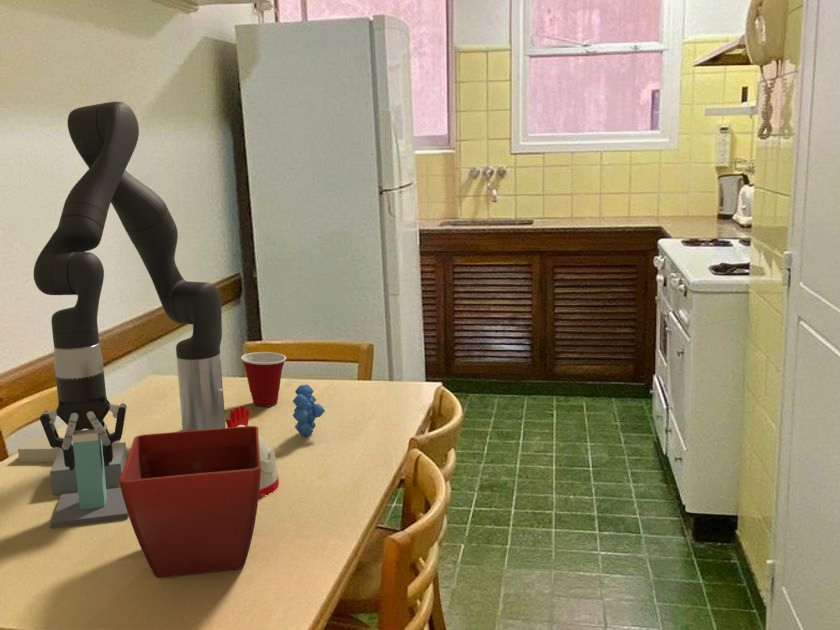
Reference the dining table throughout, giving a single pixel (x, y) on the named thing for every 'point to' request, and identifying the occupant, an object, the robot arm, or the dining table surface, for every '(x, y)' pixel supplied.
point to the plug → (89, 469)
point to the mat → (89, 510)
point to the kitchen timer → (267, 457)
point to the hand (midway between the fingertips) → (89, 466)
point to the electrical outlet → (40, 450)
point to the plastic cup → (264, 376)
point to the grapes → (306, 410)
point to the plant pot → (193, 498)
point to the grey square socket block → (67, 479)
